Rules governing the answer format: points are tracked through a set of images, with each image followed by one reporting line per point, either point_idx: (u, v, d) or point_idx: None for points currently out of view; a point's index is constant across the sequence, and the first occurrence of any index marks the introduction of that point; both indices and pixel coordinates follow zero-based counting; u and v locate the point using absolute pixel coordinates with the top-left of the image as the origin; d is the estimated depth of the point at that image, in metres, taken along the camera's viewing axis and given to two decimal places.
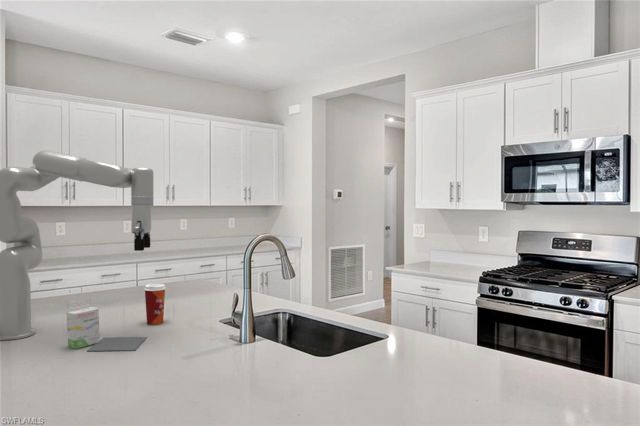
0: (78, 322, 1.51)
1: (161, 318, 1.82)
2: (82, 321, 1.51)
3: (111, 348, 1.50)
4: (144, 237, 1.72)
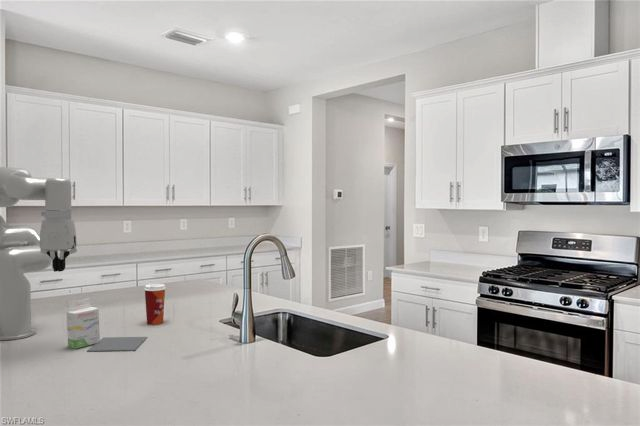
0: (79, 322, 1.51)
1: (161, 318, 1.82)
2: (82, 321, 1.52)
3: (111, 348, 1.50)
4: None
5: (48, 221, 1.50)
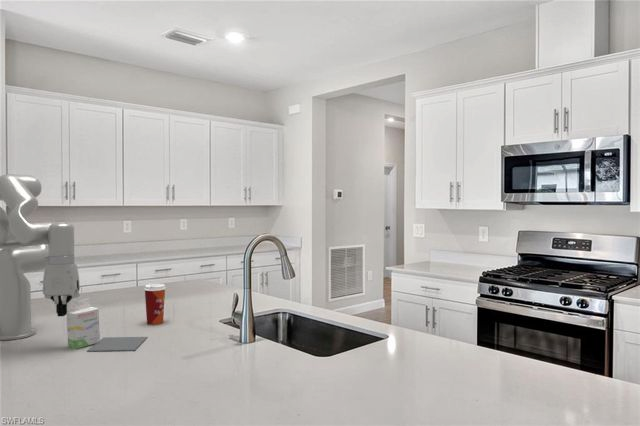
0: (78, 322, 1.51)
1: (161, 318, 1.82)
2: (82, 321, 1.51)
3: (111, 348, 1.50)
4: (61, 301, 1.53)
5: (51, 267, 1.50)
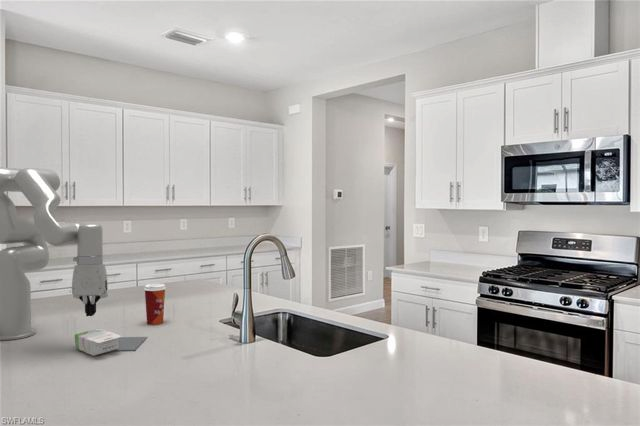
0: None
1: (161, 318, 1.82)
2: None
3: None
4: (90, 301, 1.54)
5: (80, 267, 1.51)
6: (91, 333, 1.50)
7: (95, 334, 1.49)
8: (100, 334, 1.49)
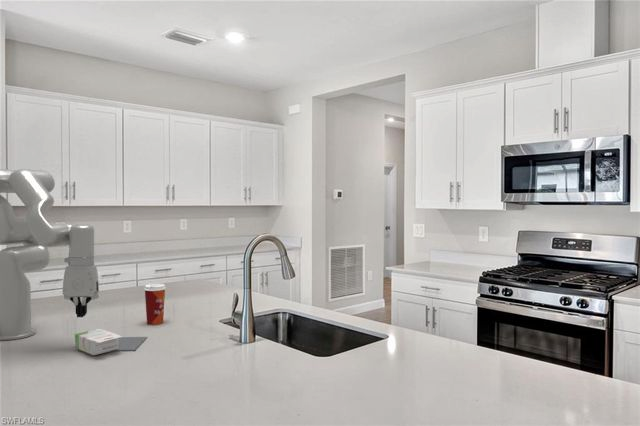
0: None
1: (161, 318, 1.82)
2: None
3: None
4: None
5: (72, 268, 1.51)
6: (91, 333, 1.50)
7: (95, 334, 1.49)
8: (100, 334, 1.49)
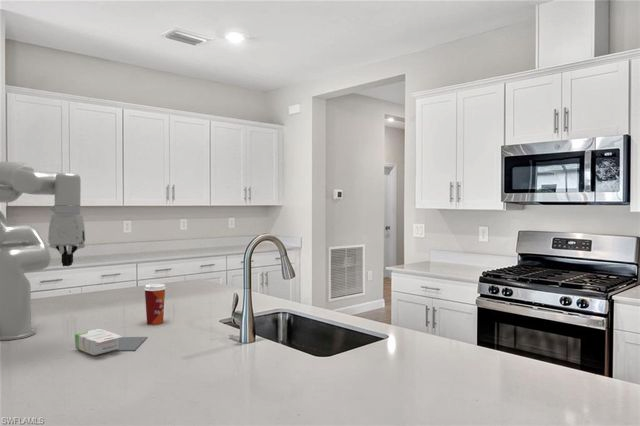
0: None
1: (161, 318, 1.82)
2: None
3: None
4: (67, 251, 1.53)
5: (57, 216, 1.50)
6: (91, 333, 1.50)
7: (95, 334, 1.49)
8: (100, 334, 1.49)
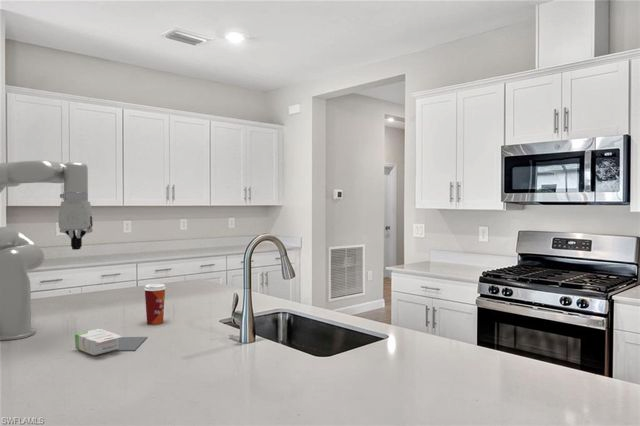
0: None
1: (161, 318, 1.82)
2: None
3: None
4: None
5: (67, 202, 1.61)
6: (91, 333, 1.50)
7: (95, 334, 1.49)
8: (100, 334, 1.49)
